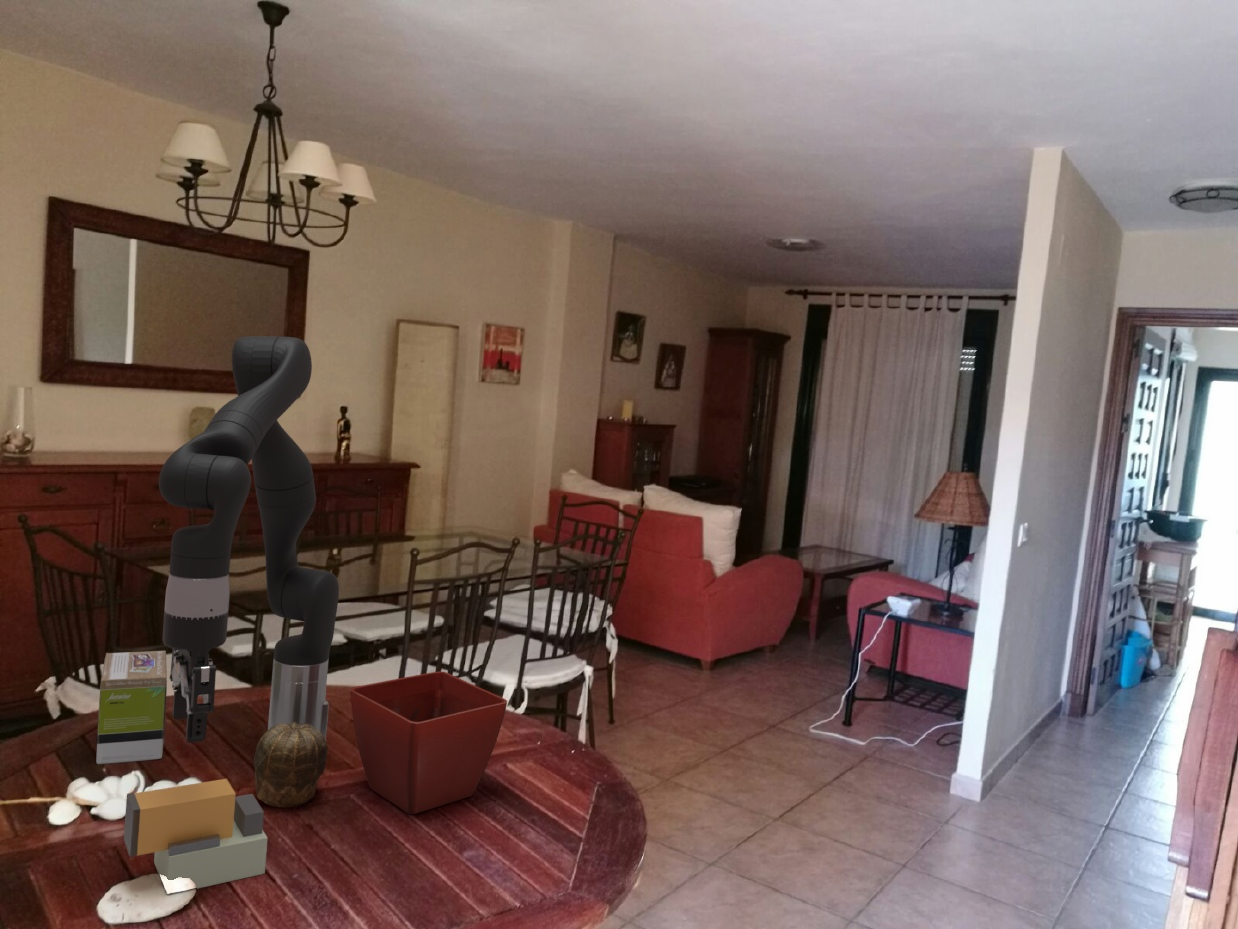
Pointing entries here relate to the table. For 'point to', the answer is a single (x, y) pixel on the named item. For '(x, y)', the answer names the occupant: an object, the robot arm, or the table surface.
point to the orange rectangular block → (178, 815)
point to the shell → (289, 764)
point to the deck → (220, 850)
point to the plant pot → (425, 737)
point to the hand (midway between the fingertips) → (188, 729)
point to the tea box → (132, 707)
